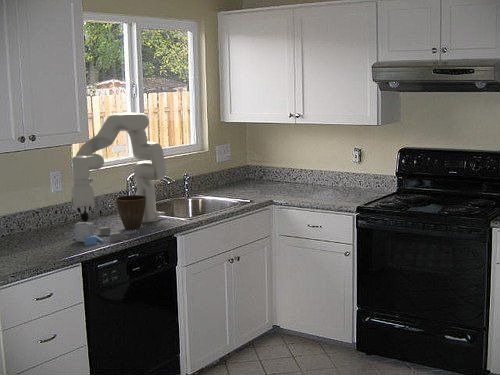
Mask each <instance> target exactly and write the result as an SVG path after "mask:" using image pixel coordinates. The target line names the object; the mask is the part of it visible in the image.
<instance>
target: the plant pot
mask: <svg viewBox="0 0 500 375" xmlns="http://www.w3.org/2000/svg"><path fill="white" fill-rule="evenodd" d="M115 200H116V201H115V202H116V206H117V211H118V214H119V217H120V220H121V222H122V225H123V228H124V230H126V231H137V229H138V230H140V229H141V226H142V220H143V216H144V211H145V204H146V197H145V196H141V195H137V194H133V195H132V194H131V195H122V196H118V197H116V198H115Z"/></svg>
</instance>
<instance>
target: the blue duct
mask: <svg viewBox="0 0 500 375" xmlns="http://www.w3.org/2000/svg"><path fill="white" fill-rule="evenodd" d="M74 233H75V230H74ZM74 239H75V240H76V235H75V234H74ZM97 241H98V242H100V243H101V244H105V240H104V239H103V238H101V237H99V236H97V235H95V236H88V237H84V242H83V243H84V245H85V246H91V245H92V246H93V245H98V244H97Z"/></svg>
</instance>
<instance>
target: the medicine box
mask: <svg viewBox="0 0 500 375" xmlns="http://www.w3.org/2000/svg"><path fill="white" fill-rule="evenodd" d="M74 231H75V232H74V236H75V235H76V239H75V242H78V243H79V242H80V243H81V242H82V243H84V237H88V236H95V224H94V222H88V221H85V222H83V221H79V222H76V223H74Z"/></svg>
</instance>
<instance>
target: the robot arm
mask: <svg viewBox="0 0 500 375" xmlns="http://www.w3.org/2000/svg"><path fill="white" fill-rule="evenodd" d="M149 124H150V121H149V117H148V116H147V114H145V113H143V112H141V113H140V112H121V113H112V114H110V115H109V116H107V118H106V119H105V121H104V122H103V125H102V126H101V127H100V129H99V130H98V132H97V134H96V135H95V136H92V137H91V138H90V139H89V140H87V141H86V142H84V143H83V144H82V145H81V146H80V148H79V149H78V150H77V152H76V154H75V156H72V159H71V167H72V179H73V180H72V181H73V185H72V186H71V192H70V197H71V198H70V200H71V207H72V208H71V209H72V211H77V212H78V213H79V214H80V220H81V222H88V220H89V212H90V211H91V209H95V208H96V205H95V204H96V203H95V202H96V200H95V194H94V193H95V192H94V188H93V185H92V184H91V183H93V182H94V179H93V178H91V176H90V171H94V170H95V171H97V170H100V169H101V168H103V167H104V164H105V159H104V157H103V156H102V155H101V154H98V153H96V152H97V151H98V152H99V151H100V150H103V149H106V148H109V147H110V146H112V145H113V144H114V142H115V141H116V138H117V137H118V135H119V134H120V132H126V133H127V134H128V136H129V138H130V139H129V140H130V145H131V149H132V154H133V157H134V158H135V159H136V160H138V162H137V163H135V165H134V166H133V175H134V179H135V182H136V183H135V184H136V195H141V196H145V197H146V204H145V211H144V216H143V220H142V223H143V224H144V223H153V222H158V221H160V216H165V214H166V212H165V211H157V206H156V205H157V202H156V187H155V183H154V182H153V181H161V180H164V178H166V175H167V165H166V161H165V160H166V158H165V155H164V150H163V146H162V145H161V144H160V143H159V142H155V141H149V140H148V136H147V133H146V129H147V128H148V127H149ZM139 160H140V161H139ZM142 223H141V224H142Z"/></svg>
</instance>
